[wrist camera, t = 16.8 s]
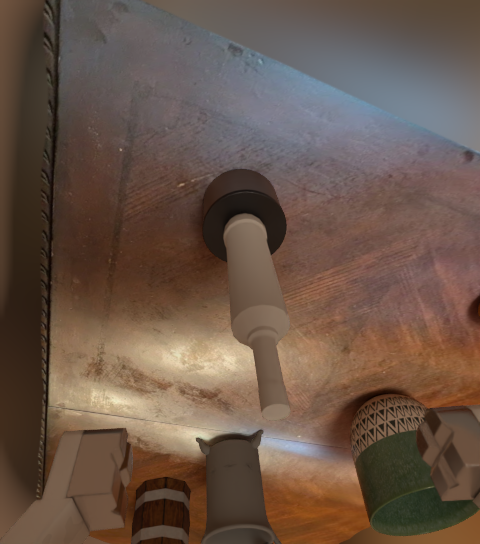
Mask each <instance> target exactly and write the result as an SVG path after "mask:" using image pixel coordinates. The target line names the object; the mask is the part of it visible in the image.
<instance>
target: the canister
mask: <svg viewBox="0 0 480 544" xmlns="http://www.w3.org/2000/svg"><path fill="white" fill-rule="evenodd" d="M243 213H246V214H252V215H254V216H256V217H257V218H259V219H260V220H261V222H262V223H263V225H264V226H265V229H266V233H267V240H266V241H267V244H268V248H269V251H270V254H271V255H272V254H273V253H274V252H275V251H276V250H277V249H278V248H279V247H280V245H281V244H282V242H283V240H284V237H285V234H286V226H287V224H286V218H285V215H284V212H283V210H282V208H281V206H280V203H279V200H278V198H277V195H276V192H275V189H274V187H273V186H272V184H271V183H270V181H269V180H268V179H267V178H266V177H264V176H263V175H261V174H260V173H258V172H255V171H252V170H247V169H235V170H231V171H228V172H225V173H223V174H221V175H220V176H218V177H217V178H216V179H214V180H213V181H212V182H211V184H210V185H209V186H208V188H207V190H206V192H205V195H204V200H203V237H204V241H205V243H206V245H207V247H208V248H209V250H210V251H211V252H212V253H213V254H214V255H215V256H217V257H218V258H219V259H221V260H223V261H226V262H227V248H226V246H225V243H224V239H223V234H224V229H225V225H226V224H227V223H228V221H229V220H230V219H231V218H232V217H234V216H236V215H238V214H243Z"/></svg>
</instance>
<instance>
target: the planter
mask: <svg viewBox="0 0 480 544" xmlns="http://www.w3.org/2000/svg"><path fill="white" fill-rule="evenodd" d="M426 410H428V408H427V407H425V406H424V405H423V404H422V403H420V402H418V401H416V400H414V399H412V398H410V397H407V396H403V395H398V394H384V395H380V396H376V397H374V398H372V399H370V400H368V401H367V402H366V403H364V404H363V405H362V406H361V407H360V409H359V410H358V411H357V413H356V414H355V416H354V418H353V421H352V424H351V428H350V445H351V452H352V456H353V460H354V464H355V468H356V472H357V476H358V480H359V484H360V488H361V491H362V495H363V499H364V503H365V507H366V511H367V515H368V518H369V522H370V525H371V527H372V528H373V529H374V530H376V531H377V532H379V533H382V534H386V535H392V536H411V535H420V534H426V533H431V532H435V531H439V530H442V529H445V528H448V527H451V526H453V525H456V524H458V523H460V522H462V521H464V520H466V519H468V518H469V517H471V516H472V515H474V514H475V513H476V512H477V511H478V510H480V508H479V507H478V506H477V505H476V504H475V503H474V502H473V500H474V499H473V500H454V501H442V500H441V498H440V496H439V494H438V492H437V490H436V488H435V485H434V483H433V481H432V479H431V477H430V473H431V466H430V465H428V464H427V463H426V462H425V461H424V460H423V459H422V457H421V455H420V453H419V451H418V448H417V444H416V430H417V428H418V425H419V424H421V423H422V422H424V421H425V418H424V416H423V415H424V414H425V412H426Z"/></svg>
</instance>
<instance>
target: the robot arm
mask: <svg viewBox="0 0 480 544" xmlns="http://www.w3.org/2000/svg"><path fill="white" fill-rule="evenodd" d="M423 416H424V418H425V421H424V422H422V423H421V424H419V425H418V428H417V430H416V444H417V448H418V451H419V453H420V455H421V457H422V459H423V460H424V461H425V462H426V463H427V464H428V465H430V466H431V473H430V477H431V479H432V481H433V483H434V485H435V488H436V490H437V492H438V494H439V496H440V498H441V500H442V501H454V500H473V499H474V500H473V502H474V503H475V504H476V505H477V506H478V507H479V508H480V405H468V406H451V407H439V408H430V409H428V410H426V412H425V414H424V415H423ZM127 438H128V433H127V430H126V428H114V429H98V430H78V431H65V432H64V433H63V435H62V437H61V438H60V441H59V445H58V448H57V451H56V454H55V458H54V461H53V464H52V467H51V471H50V474H49V477H48V480H47V484H46V487H45V490H44V493H43V497H42V500H35V502H34V503H33V504H32V505H31V506H30V507H29V508H28V509H27V510H26V511H25V512H24V514H23V515H22V516H21V517H20V518H19V519H18V520H17V521H16V522H15V524H14V525H13V526H12V527H11V528H10V529H9V530H8V531H7V532H6V534H5V535H4V536H3V537H2V538H1V539H0V544H83V543H84V541H85V540H86V538H87V537H88V535H89V534H90V532H89V531H95V530H104V529H113V528H122V527H124V525H125V518H126V511H127V504H128V496H127V493H126V490H125V487H126V486H127V485H128V484H129V482H130V481H131V475H132V462H133V455H132V448H131V444H129V443H128V442H127Z"/></svg>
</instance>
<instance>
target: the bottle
mask: <svg viewBox="0 0 480 544" xmlns="http://www.w3.org/2000/svg"><path fill="white" fill-rule="evenodd" d="M223 239H224V243H225V246H226V248H227V265H228V281H229V297H230V313H231V329H232V332H233V336H234V337H235V338H236V339H237V340H238V341H239V342H240V343H242V344H245V345H247V346H249V347H250V348H251V349H253V353H254V360H255V367H256V373H257V380H258V387H259V391H258V392H259V399H260V406H261V413H262V417H263V418H265V419H266V420H269V421H277V420H281V419H284V418H286V417H287V416H288V415H289V413H290V407H289V402H288V398H287V393H286V388H285V385H284V382H283V377H282V372H281V367H280V362H279V357H278V352H277V347H276V345H277V344H278V342H279V341H280V340H281V339H282V338H283V337H284V336H285V335H286V334H287V332H288V330H289V327H290V321H289V316H288V312H287V309H286V306H285V302H284V299H283V295H282V292H281V289H280V285H279V282H278V278H277V275H276V271H275V268H274V265H273V261H272V258H271V254H270V251H269V248H268V244H267V241H266V240H267V233H266V229H265V226H264V225H263V223H262V222H261V220H260V219H259V218H257V217H256V216H254V215H252V214H246V213H243V214H238V215H236V216H234V217H232V218H231V219H230V220H229V221H228V223H227V224H226V225H225V229H224V234H223Z"/></svg>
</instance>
